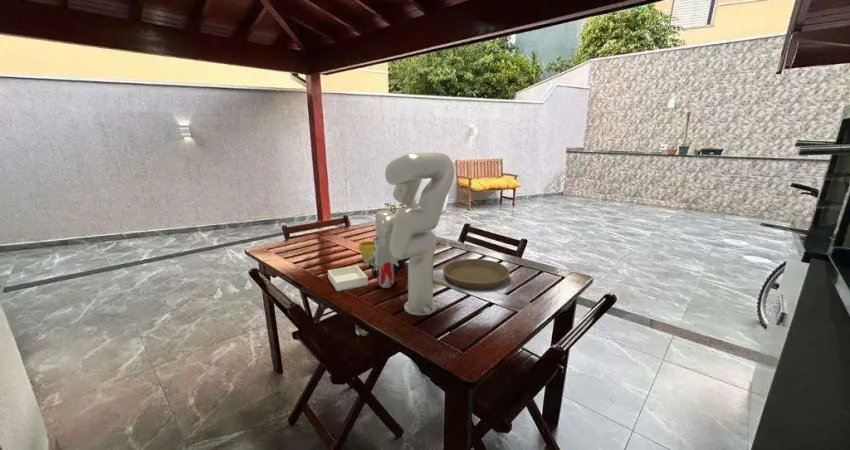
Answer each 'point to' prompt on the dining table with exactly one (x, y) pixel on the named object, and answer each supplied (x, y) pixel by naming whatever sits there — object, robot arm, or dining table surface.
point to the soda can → (386, 275)
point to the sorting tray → (347, 278)
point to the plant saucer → (476, 273)
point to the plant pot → (366, 249)
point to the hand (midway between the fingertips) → (385, 275)
